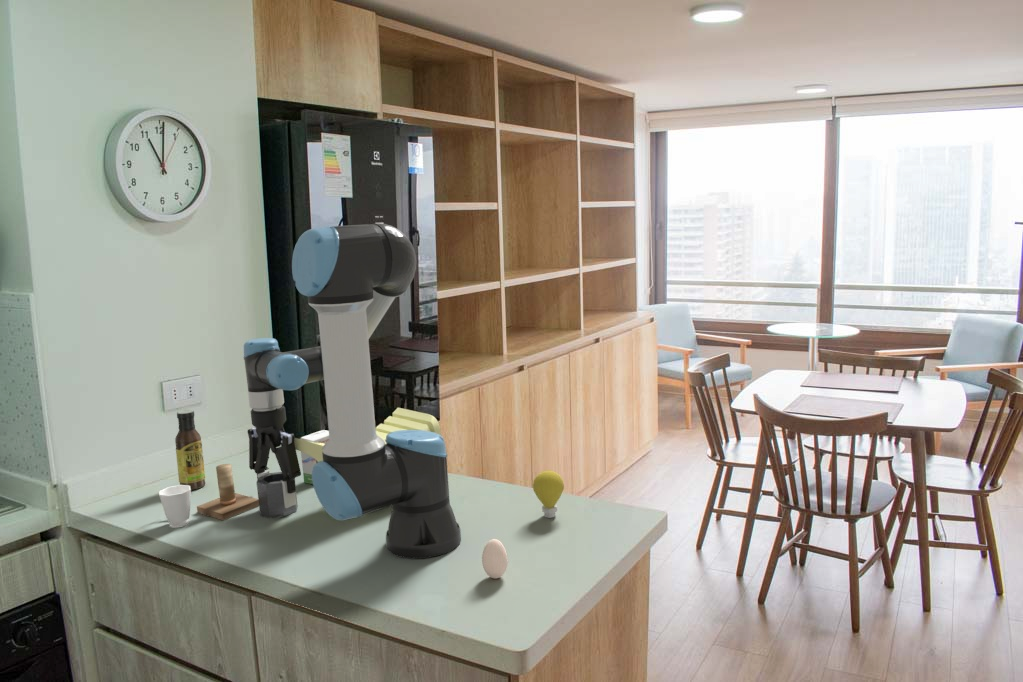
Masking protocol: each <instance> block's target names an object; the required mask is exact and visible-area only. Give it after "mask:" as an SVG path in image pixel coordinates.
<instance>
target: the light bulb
mask: <svg viewBox="0 0 1023 682" xmlns="http://www.w3.org/2000/svg"><path fill="white" fill-rule="evenodd" d="M532 489H533V492H534V494H535V495H536V498H537V499H538V500H539V501H540V503H541V504H542V506H541V509H542V511H541V512H542V513H543V514H544V515H543V516H544V517H545V518H548V519H549V518H550V519H551V518H554V517H556V512H558V505H557V503H558V501H559V500H560V498H561V496H562V494H563V492H564V489H565V483H564V480H563V478H562V476H561V475H560V474H559V473H557V472H555V471H554V470H544V471H541V472H540V473H538V474H537V475H536V476H535V478H534V479H533V484H532Z"/></svg>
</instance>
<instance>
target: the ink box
mask: <svg viewBox="0 0 1023 682" xmlns="http://www.w3.org/2000/svg"><path fill="white" fill-rule="evenodd" d="M300 439H302V440H305V441H310V442H314V443H324V444H326V442H327V441H328V440H329V430H325V429H322V430H319V431H316V432H313V433H312V432H311V433H310V434H308V435H307V434H306V435H304V436H301V437H300ZM300 455H301V456H300V457H301V465H302V475H303V483H305V484H308V485H309V484H310V485H313V481H312V470H313V467H314V465H315V464H316V463H318V461H317V460H316V459H314V458H313V457H311V456H310V455H308V454H306V453H304V452H301V451H300Z"/></svg>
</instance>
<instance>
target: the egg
mask: <svg viewBox="0 0 1023 682" xmlns="http://www.w3.org/2000/svg"><path fill="white" fill-rule="evenodd" d="M481 563H482V565H481V566H482V568H483V571H484V572H485V574H486V575H487V576H488V577H489V578H491V579H499V578H501V577H503V576H504V574H505V572H506V571H507V568H508V563H509V561H508V554H507V550H506V548H505V546H504V545H503V543H502V542H501V541H500V540H499V539H496V538H492V539H490V540H488V541H487V542H486V544H485V545H484V547H483V550H482V555H481Z"/></svg>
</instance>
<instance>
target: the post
mask: <svg viewBox="0 0 1023 682" xmlns="http://www.w3.org/2000/svg"><path fill="white" fill-rule="evenodd" d="M215 470H216V477H217V485H218V493H219V495H218V496H219V497H218V498H215V499H213V500H210V501H207V502H205V503H203V504H202V503H201V504H199V505H197V506H196V511H197V513H198V514H201V515H204V516H207V517H211V518H214V519H218V520H221V521H226V520H228V519H230V518H232V517H235V516H238V515H240V514H243V513H245V512H247V511H250V510H253V509H255V508H257V507H259V500H258V498H255V497H252V496H248V495H245V494H241V493H236V491H235V483H234V477H233V476H234V475H233V474H234V473H233V466H232V464H231V463H222V464H219V465H217V466H216V467H215Z"/></svg>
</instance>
